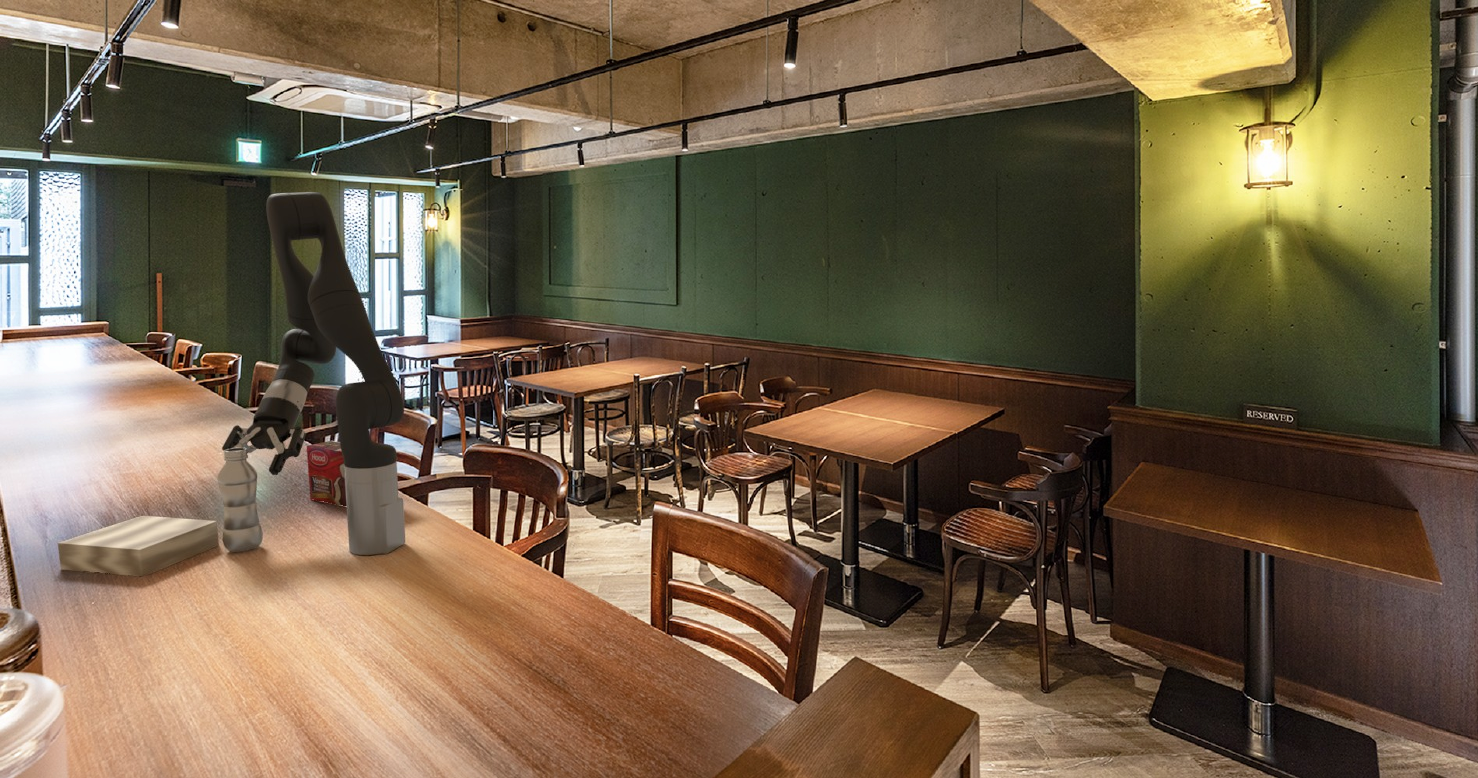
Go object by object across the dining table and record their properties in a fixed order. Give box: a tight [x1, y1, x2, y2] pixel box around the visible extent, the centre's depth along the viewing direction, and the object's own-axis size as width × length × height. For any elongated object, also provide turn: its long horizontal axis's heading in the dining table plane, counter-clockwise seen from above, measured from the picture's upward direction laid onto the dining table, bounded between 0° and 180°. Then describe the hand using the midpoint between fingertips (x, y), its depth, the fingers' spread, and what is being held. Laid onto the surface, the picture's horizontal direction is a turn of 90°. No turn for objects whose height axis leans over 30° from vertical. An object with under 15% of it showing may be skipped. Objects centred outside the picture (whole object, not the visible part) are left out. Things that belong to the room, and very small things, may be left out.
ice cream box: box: [306, 440, 347, 506], centre depth 174 cm, size 20×6×13 cm, turn 65°
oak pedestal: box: [57, 515, 220, 578], centre depth 139 cm, size 17×16×5 cm
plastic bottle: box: [216, 448, 264, 553], centre depth 142 cm, size 6×7×20 cm
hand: (251, 472), depth 146 cm, fingers open, 8 cm apart
